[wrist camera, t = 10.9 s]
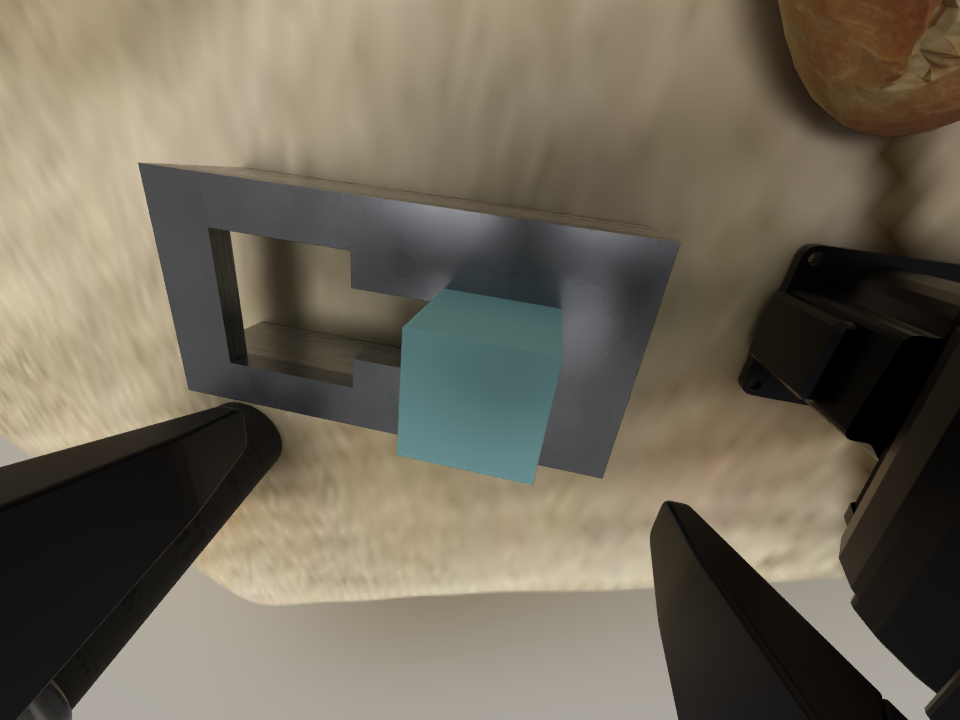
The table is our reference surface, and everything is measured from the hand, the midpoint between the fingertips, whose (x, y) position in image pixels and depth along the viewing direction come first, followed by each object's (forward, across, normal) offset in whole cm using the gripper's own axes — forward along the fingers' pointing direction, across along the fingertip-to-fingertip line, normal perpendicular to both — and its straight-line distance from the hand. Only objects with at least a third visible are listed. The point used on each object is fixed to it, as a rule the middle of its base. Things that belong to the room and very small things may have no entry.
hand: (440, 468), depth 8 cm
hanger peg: (+10, 0, 0) cm, 10 cm away
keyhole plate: (+12, +4, 0) cm, 12 cm away
